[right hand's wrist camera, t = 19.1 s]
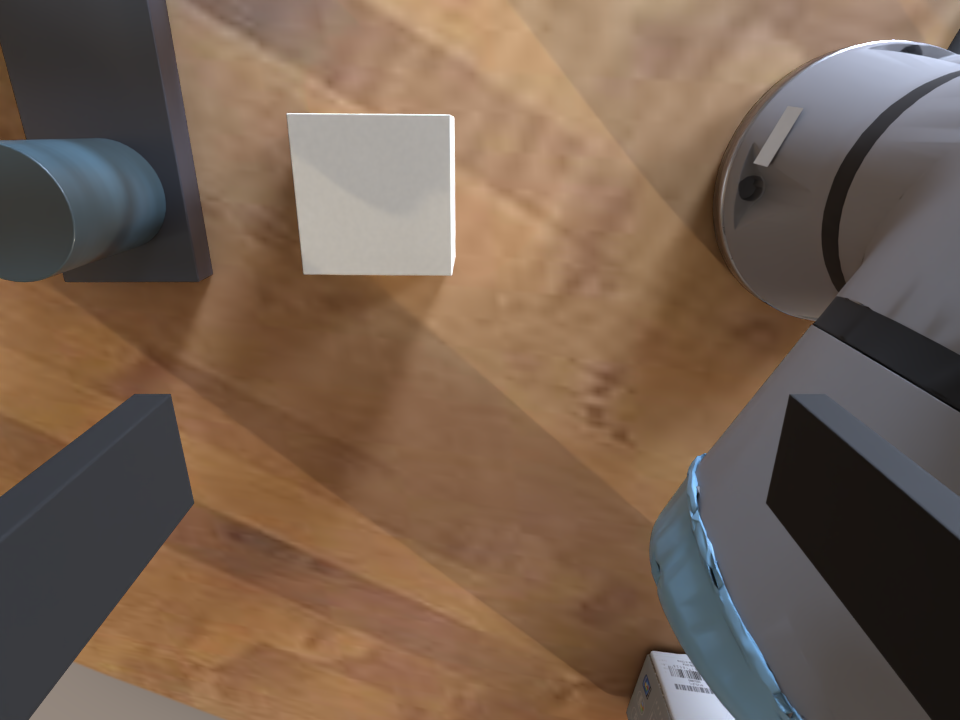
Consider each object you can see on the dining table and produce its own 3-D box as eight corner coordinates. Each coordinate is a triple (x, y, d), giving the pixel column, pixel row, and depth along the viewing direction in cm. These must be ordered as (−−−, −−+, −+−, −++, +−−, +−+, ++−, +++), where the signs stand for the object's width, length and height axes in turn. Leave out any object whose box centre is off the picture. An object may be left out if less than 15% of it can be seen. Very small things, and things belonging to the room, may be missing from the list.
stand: (-57, -282, 27) (-344, -502, 17) (117, -282, 27) (-77, -502, 17) (85, 274, 36) (-50, 324, 27) (213, 274, 36) (122, 324, 27)
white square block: (313, 115, 33) (285, 113, 28) (454, 116, 33) (450, 114, 28) (325, 255, 36) (303, 274, 31) (455, 257, 36) (451, 276, 31)
